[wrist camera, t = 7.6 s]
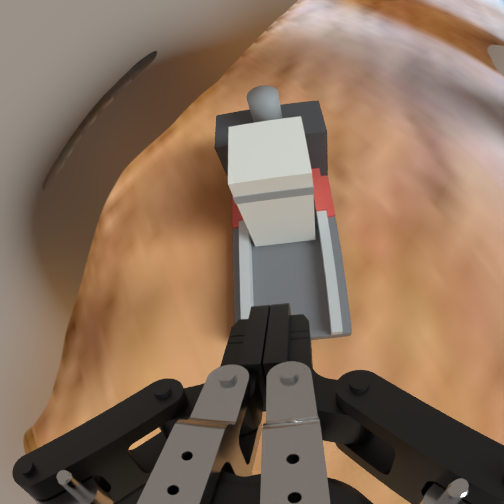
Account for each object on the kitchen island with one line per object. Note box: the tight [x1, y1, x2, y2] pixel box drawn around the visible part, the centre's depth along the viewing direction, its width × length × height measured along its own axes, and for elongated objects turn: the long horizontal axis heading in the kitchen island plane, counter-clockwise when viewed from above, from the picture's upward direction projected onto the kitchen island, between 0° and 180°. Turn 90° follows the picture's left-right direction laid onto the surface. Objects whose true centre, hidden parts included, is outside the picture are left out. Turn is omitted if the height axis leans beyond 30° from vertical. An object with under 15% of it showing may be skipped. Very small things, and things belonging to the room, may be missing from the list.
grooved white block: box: [228, 116, 315, 247], centre depth 24 cm, size 5×5×9 cm
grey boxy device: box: [215, 86, 352, 340], centre depth 24 cm, size 18×9×10 cm, turn 2°
